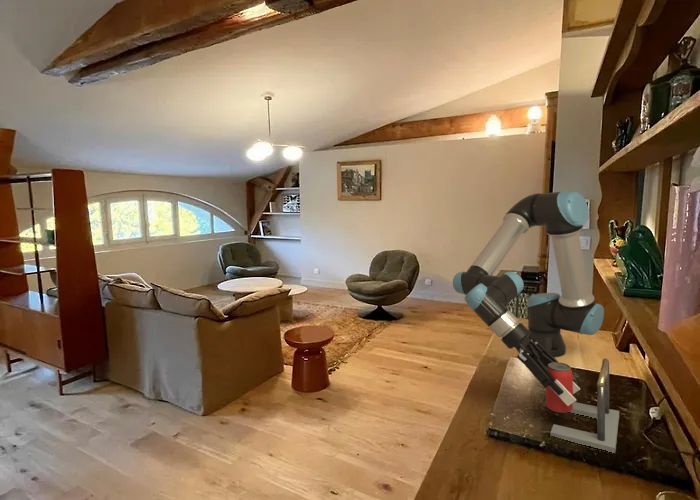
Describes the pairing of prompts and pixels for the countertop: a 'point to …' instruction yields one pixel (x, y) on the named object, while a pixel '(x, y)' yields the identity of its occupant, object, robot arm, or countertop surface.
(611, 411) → the grey u-shaped base plate
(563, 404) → the beer can
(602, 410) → the hook arm
